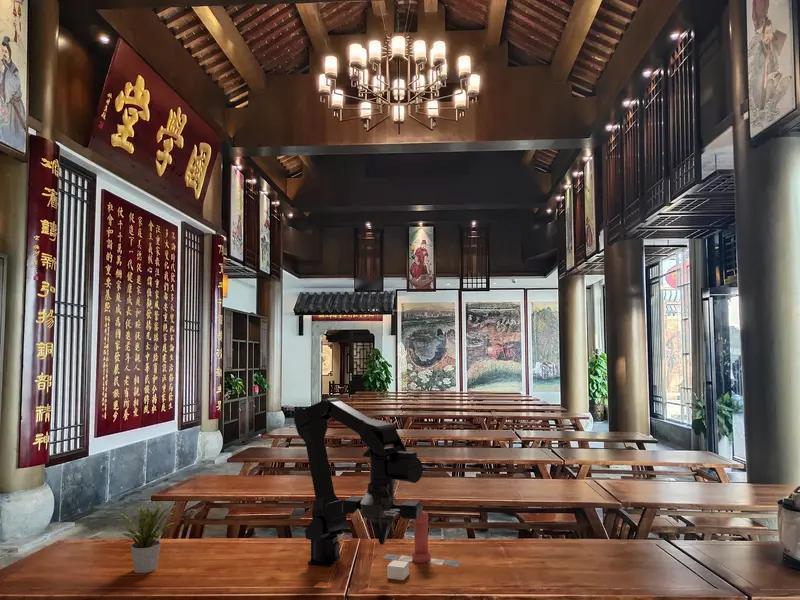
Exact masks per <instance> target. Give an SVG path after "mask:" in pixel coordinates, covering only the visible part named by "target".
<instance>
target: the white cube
mask: <svg viewBox="0 0 800 600" xmlns="http://www.w3.org/2000/svg"><path fill="white" fill-rule="evenodd" d="M386 569H387V574H386V575H387V579H393V580H400V581H404V580H405V579H406V578H407V577H408V576H409V575H410V562H409V561H399V560H398V559H396V560H392V561H390V562H389V563H388V565H387V568H386Z"/></svg>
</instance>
